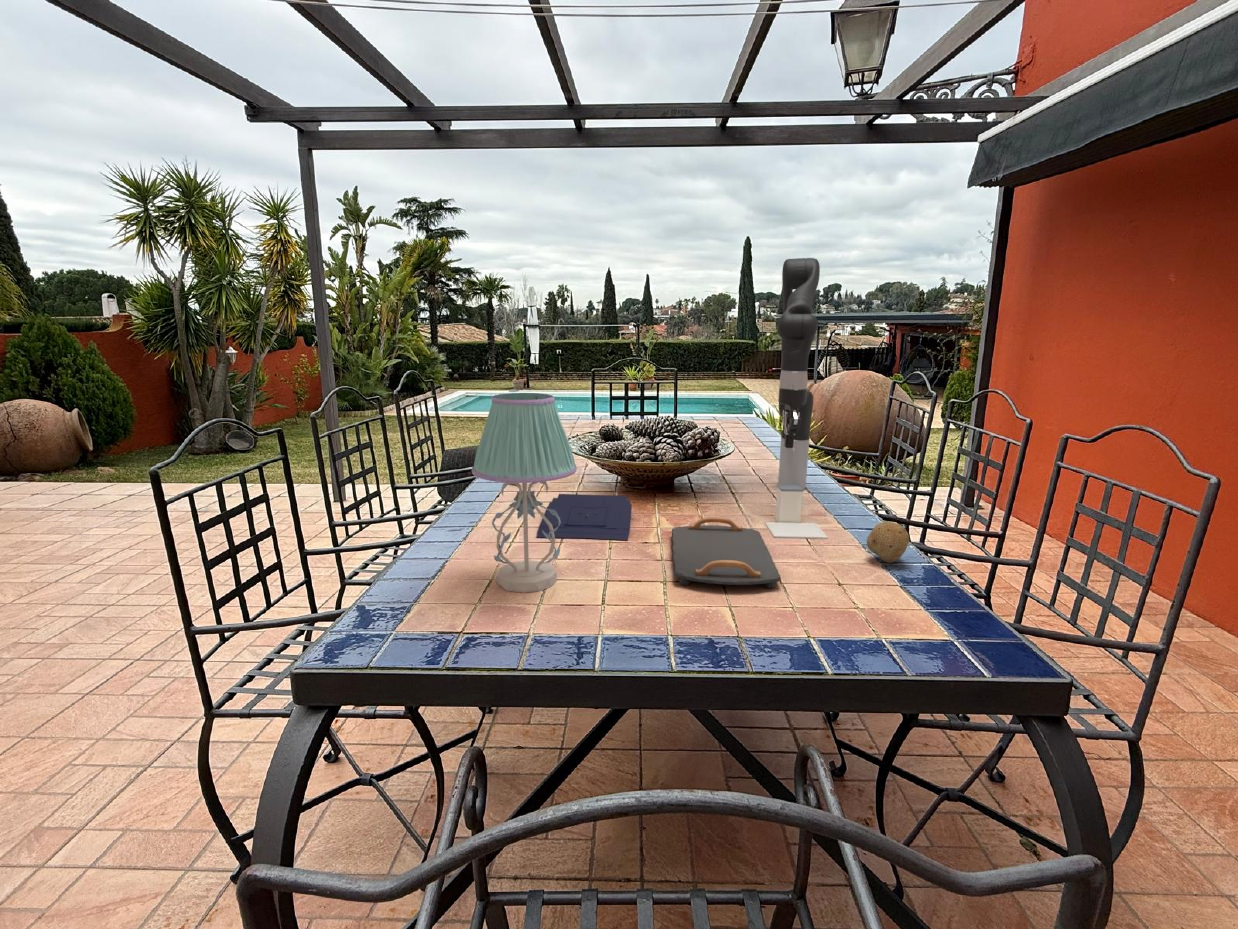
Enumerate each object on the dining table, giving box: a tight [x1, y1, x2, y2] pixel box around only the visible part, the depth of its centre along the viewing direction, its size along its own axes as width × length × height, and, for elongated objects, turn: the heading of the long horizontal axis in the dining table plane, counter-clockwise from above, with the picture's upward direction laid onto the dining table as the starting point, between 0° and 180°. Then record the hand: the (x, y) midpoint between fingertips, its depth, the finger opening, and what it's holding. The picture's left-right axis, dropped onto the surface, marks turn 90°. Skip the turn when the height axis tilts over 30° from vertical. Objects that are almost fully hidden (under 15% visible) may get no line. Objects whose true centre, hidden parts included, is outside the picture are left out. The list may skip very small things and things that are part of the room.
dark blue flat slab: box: [536, 493, 633, 541], centre depth 180 cm, size 24×30×4 cm
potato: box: [866, 520, 910, 564], centre depth 152 cm, size 9×9×10 cm
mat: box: [764, 521, 829, 540], centre depth 174 cm, size 12×14×1 cm
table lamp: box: [471, 392, 578, 594], centre depth 135 cm, size 22×22×40 cm
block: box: [774, 484, 804, 523], centre depth 182 cm, size 5×6×10 cm
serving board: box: [671, 516, 782, 590], centre depth 152 cm, size 39×23×6 cm, turn 176°
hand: (788, 447), depth 184 cm, fingers closed
